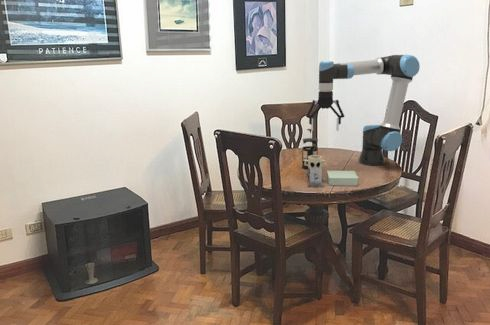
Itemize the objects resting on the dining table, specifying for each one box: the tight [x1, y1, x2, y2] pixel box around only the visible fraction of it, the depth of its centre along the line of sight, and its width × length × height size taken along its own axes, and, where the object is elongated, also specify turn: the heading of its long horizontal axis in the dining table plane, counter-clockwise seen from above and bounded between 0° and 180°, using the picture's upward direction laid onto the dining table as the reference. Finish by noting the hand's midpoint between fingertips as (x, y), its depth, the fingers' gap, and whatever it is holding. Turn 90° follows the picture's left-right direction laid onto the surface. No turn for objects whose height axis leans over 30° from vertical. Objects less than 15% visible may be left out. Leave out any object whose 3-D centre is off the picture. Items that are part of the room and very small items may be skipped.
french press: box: [301, 128, 319, 170], centre depth 264 cm, size 12×9×23 cm
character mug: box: [304, 154, 326, 181], centre depth 238 cm, size 11×7×13 cm, turn 86°
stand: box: [326, 170, 359, 187], centre depth 236 cm, size 15×15×4 cm
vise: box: [305, 166, 325, 188], centre depth 238 cm, size 8×25×9 cm, turn 175°
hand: (324, 130), depth 245 cm, fingers open, 13 cm apart
